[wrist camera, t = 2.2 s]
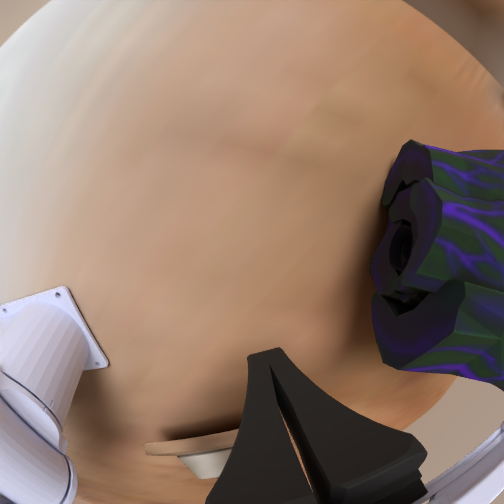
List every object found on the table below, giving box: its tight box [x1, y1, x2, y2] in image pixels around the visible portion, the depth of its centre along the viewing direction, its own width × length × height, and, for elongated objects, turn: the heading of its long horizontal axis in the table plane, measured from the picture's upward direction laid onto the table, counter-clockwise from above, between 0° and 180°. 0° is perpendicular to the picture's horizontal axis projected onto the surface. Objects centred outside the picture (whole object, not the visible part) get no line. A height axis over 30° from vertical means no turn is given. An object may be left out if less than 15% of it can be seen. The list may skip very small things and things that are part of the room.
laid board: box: [177, 447, 233, 479], centre depth 28 cm, size 10×8×1 cm
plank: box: [144, 429, 239, 456], centre depth 23 cm, size 10×8×1 cm
